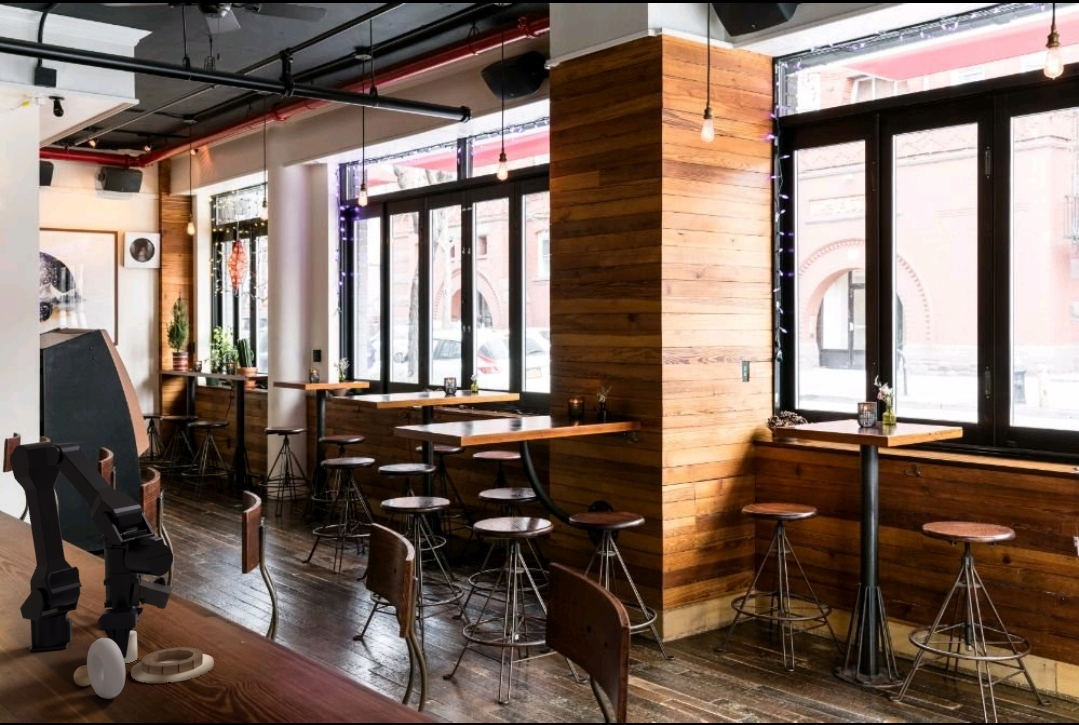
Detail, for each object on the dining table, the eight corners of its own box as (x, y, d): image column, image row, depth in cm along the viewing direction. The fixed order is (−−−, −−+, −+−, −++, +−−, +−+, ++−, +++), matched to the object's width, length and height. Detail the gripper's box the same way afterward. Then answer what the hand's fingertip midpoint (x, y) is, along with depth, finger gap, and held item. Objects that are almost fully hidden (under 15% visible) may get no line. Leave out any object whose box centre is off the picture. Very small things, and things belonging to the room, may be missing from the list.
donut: (84, 693, 174) (82, 634, 173) (104, 687, 176) (102, 630, 176) (109, 708, 167) (107, 647, 166) (130, 702, 169) (128, 642, 169)
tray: (126, 687, 176) (126, 673, 176) (135, 661, 190) (135, 648, 190) (212, 678, 180) (211, 664, 180) (215, 653, 194) (214, 640, 194)
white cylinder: (110, 665, 188) (109, 638, 187) (113, 658, 192) (112, 631, 192) (136, 663, 189) (135, 636, 189) (138, 655, 193) (137, 629, 193)
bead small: (72, 690, 175) (71, 670, 175) (75, 683, 179) (75, 663, 179) (94, 687, 176) (93, 667, 176) (97, 681, 180) (96, 661, 179)
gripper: (163, 579, 183) (166, 665, 183) (172, 556, 201) (174, 635, 201) (96, 584, 180) (99, 672, 180) (110, 560, 198) (113, 640, 198)
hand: (124, 654), depth 190 cm, fingers closed on white cylinder, 4 cm apart
